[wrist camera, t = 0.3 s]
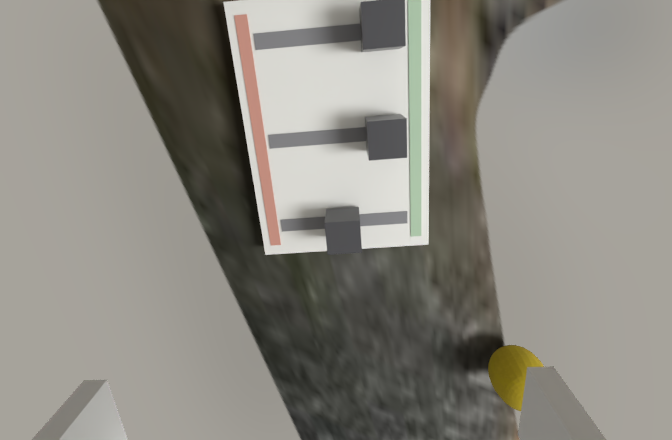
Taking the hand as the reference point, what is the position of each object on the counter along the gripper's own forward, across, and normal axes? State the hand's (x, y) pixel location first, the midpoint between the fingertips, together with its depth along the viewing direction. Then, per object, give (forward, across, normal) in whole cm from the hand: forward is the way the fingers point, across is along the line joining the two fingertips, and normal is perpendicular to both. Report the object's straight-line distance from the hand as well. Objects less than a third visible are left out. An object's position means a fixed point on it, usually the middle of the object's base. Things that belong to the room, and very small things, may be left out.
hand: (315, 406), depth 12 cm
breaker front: (+24, +4, +13) cm, 27 cm away
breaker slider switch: (+24, +1, -3) cm, 24 cm away
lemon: (+27, +18, -20) cm, 38 cm away
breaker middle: (+24, +4, +5) cm, 25 cm away
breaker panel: (+26, 0, +5) cm, 27 cm away
